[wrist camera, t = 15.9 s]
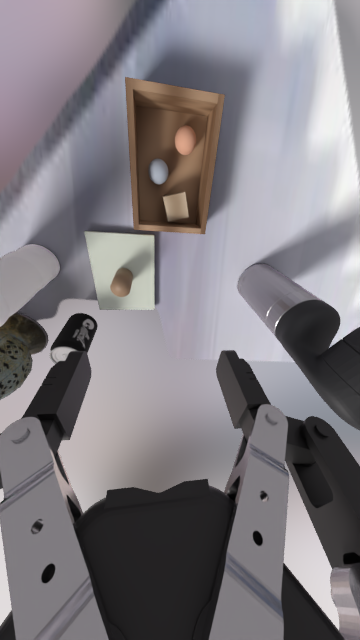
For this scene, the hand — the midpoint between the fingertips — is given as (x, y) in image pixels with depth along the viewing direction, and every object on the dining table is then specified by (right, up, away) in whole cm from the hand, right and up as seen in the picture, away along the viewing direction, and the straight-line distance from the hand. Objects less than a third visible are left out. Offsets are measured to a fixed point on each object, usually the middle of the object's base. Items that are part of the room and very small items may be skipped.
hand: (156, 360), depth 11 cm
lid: (-10, +12, +29) cm, 33 cm away
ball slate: (-2, +27, +19) cm, 33 cm away
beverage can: (-23, +2, +35) cm, 42 cm away
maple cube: (0, +23, +22) cm, 32 cm away
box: (0, +27, +20) cm, 34 cm away
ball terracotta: (+2, +30, +18) cm, 35 cm away
